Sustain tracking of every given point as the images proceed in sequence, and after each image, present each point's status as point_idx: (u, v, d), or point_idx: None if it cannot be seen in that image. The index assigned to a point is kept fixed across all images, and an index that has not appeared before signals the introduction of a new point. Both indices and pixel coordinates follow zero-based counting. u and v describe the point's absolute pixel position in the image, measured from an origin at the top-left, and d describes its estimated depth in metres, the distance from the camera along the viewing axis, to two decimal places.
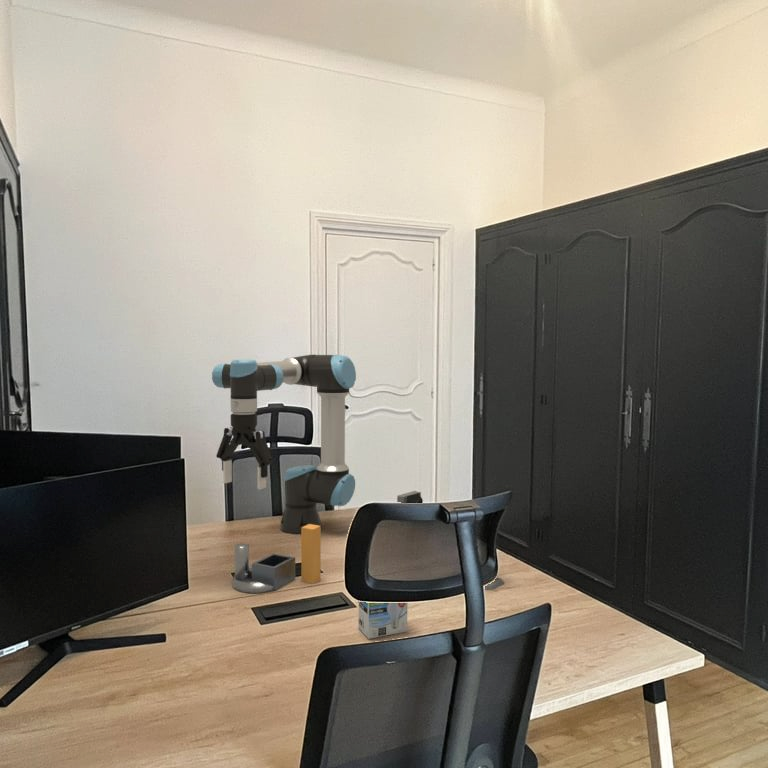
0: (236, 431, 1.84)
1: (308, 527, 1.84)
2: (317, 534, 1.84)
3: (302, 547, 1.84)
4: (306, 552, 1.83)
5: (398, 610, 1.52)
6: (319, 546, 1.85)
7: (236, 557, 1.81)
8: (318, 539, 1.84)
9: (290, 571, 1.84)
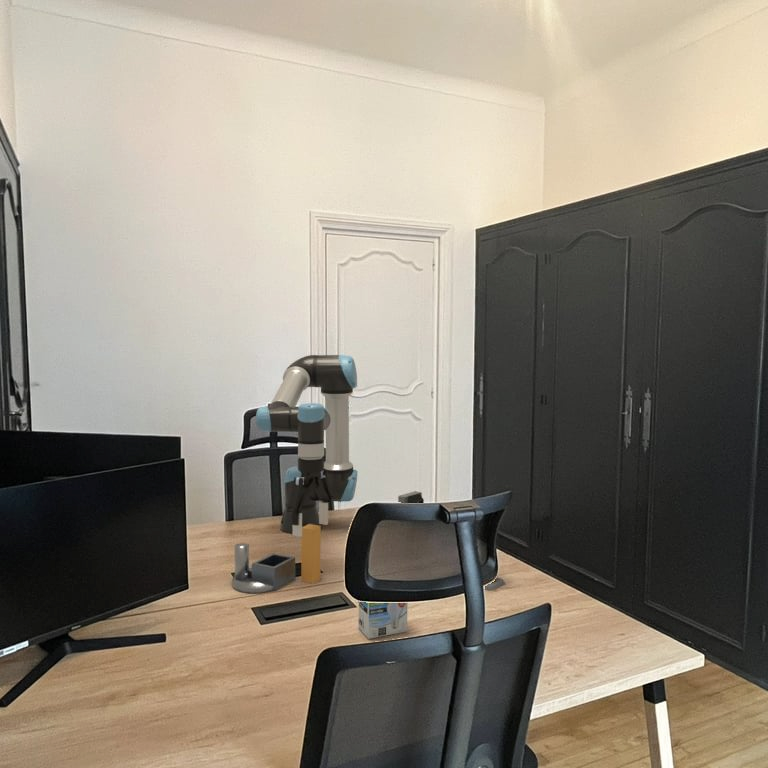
0: None
1: (308, 527, 1.84)
2: (317, 534, 1.84)
3: (302, 547, 1.84)
4: (306, 552, 1.83)
5: (398, 610, 1.52)
6: (319, 546, 1.85)
7: (236, 557, 1.81)
8: (318, 539, 1.84)
9: (290, 571, 1.84)
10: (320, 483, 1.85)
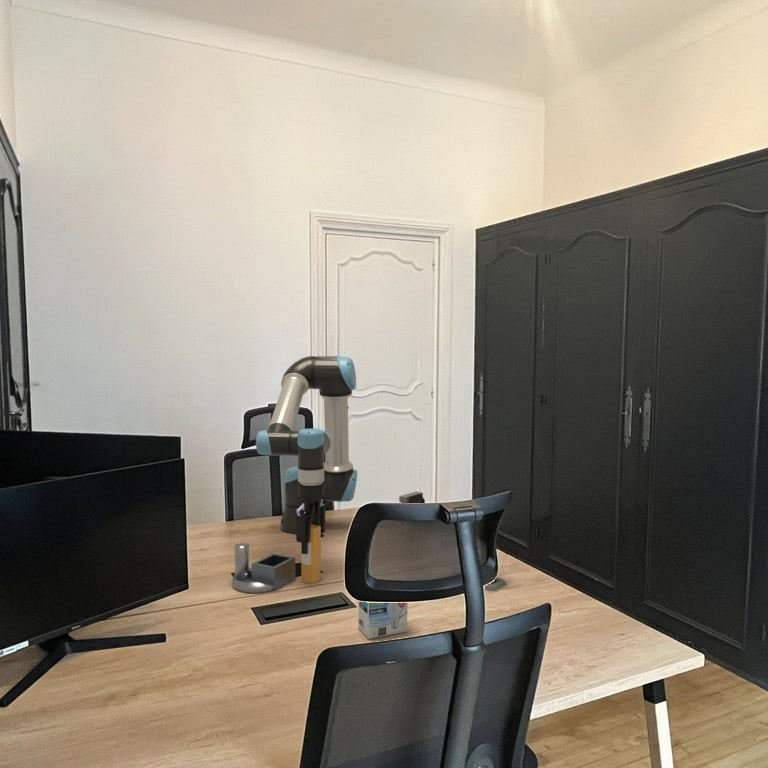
0: None
1: None
2: (317, 534, 1.84)
3: None
4: None
5: (398, 610, 1.52)
6: (319, 546, 1.85)
7: (236, 557, 1.81)
8: (318, 539, 1.84)
9: (290, 571, 1.84)
10: (318, 510, 1.85)
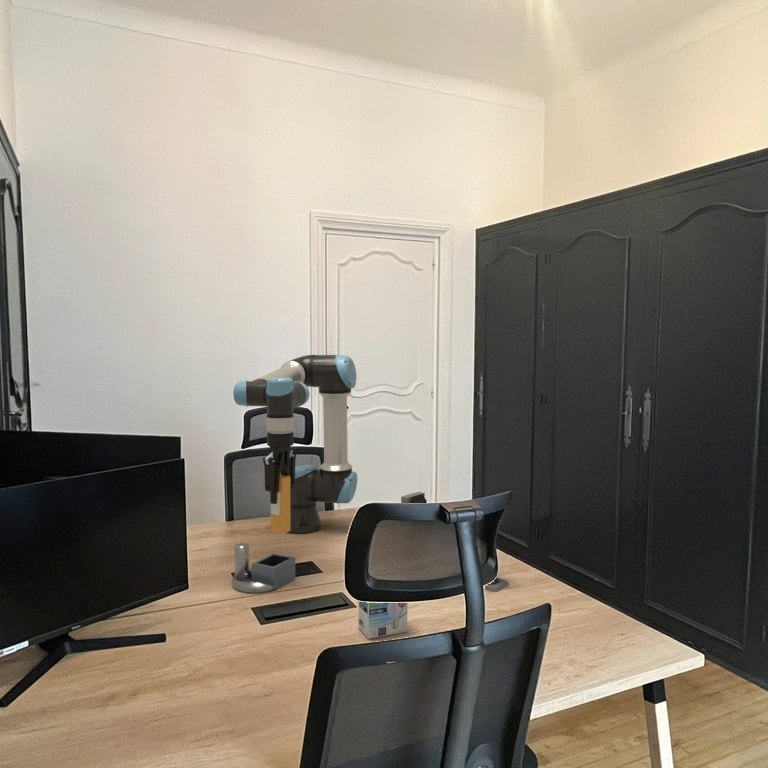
0: None
1: None
2: (287, 484, 1.81)
3: None
4: None
5: (398, 610, 1.52)
6: (289, 497, 1.82)
7: (236, 557, 1.81)
8: (287, 489, 1.82)
9: (290, 571, 1.84)
10: (288, 460, 1.82)
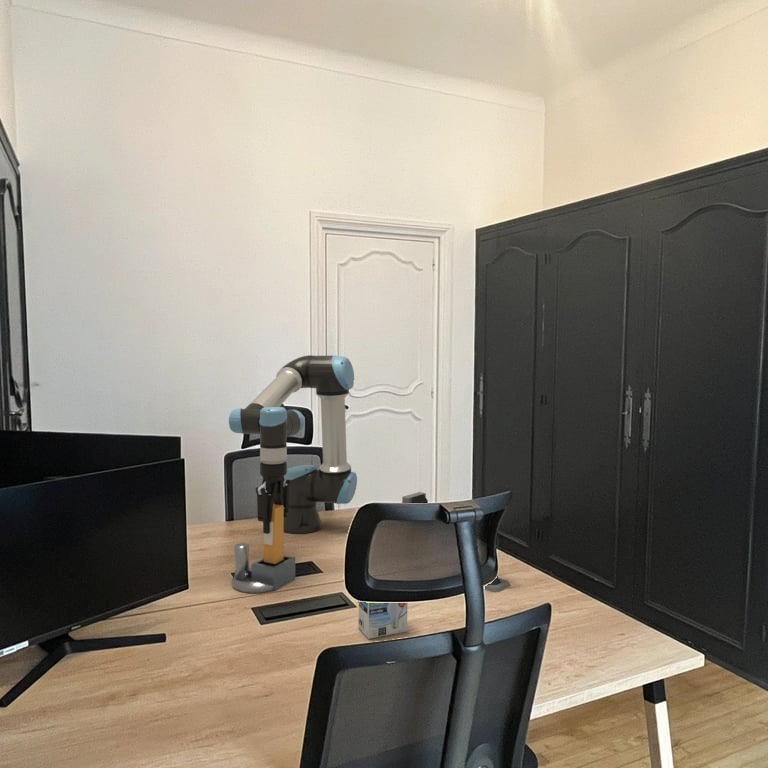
0: None
1: None
2: (280, 514, 1.82)
3: None
4: None
5: (398, 610, 1.52)
6: (282, 526, 1.83)
7: (236, 557, 1.81)
8: (280, 519, 1.82)
9: (290, 571, 1.84)
10: (281, 489, 1.82)
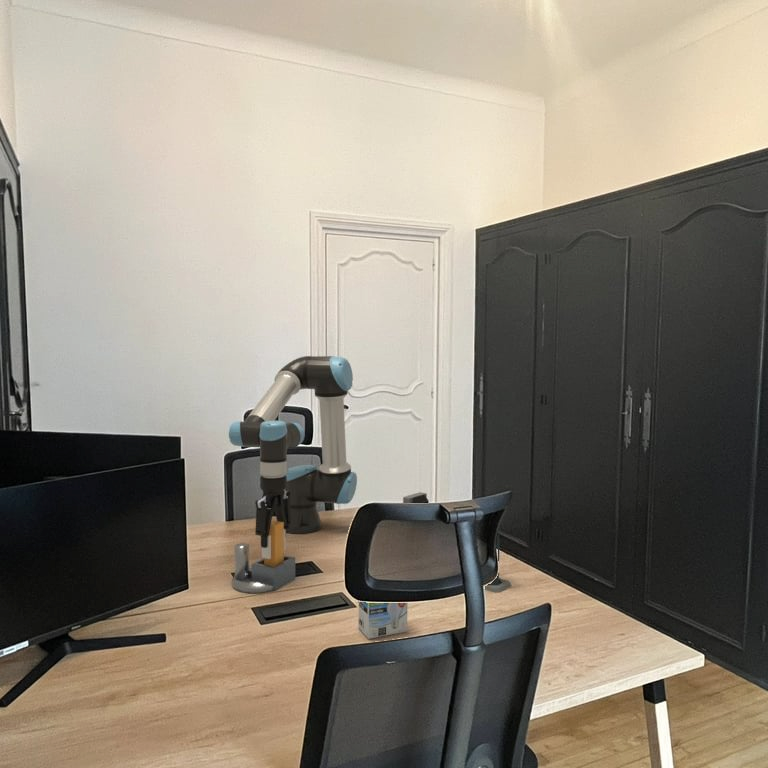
0: None
1: (271, 523, 1.82)
2: (280, 531, 1.82)
3: None
4: None
5: (398, 610, 1.52)
6: (282, 543, 1.83)
7: (236, 557, 1.81)
8: (280, 536, 1.82)
9: (290, 571, 1.84)
10: (282, 502, 1.83)
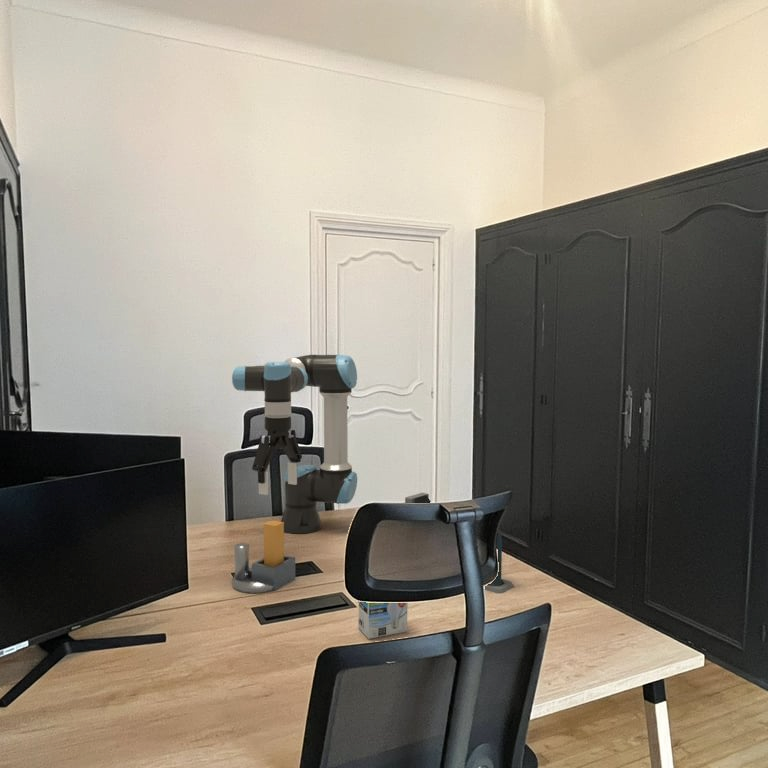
0: None
1: (271, 523, 1.82)
2: (280, 531, 1.82)
3: (265, 544, 1.82)
4: (268, 548, 1.81)
5: (398, 610, 1.52)
6: (282, 543, 1.83)
7: (236, 557, 1.81)
8: (280, 536, 1.82)
9: (290, 571, 1.84)
10: (288, 442, 1.83)
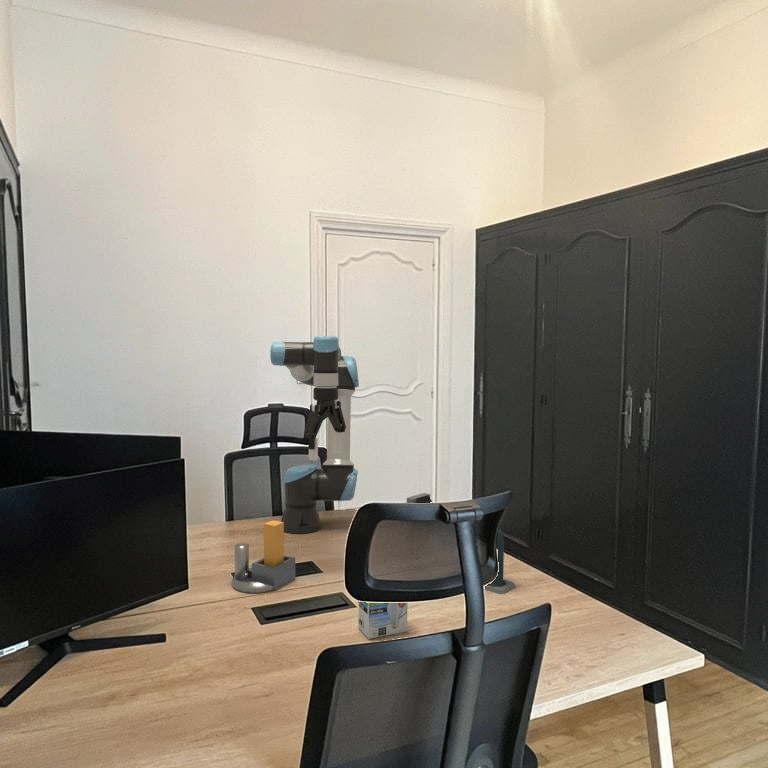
0: None
1: (271, 523, 1.82)
2: (280, 531, 1.82)
3: (265, 544, 1.82)
4: (268, 548, 1.81)
5: (398, 610, 1.52)
6: (282, 543, 1.83)
7: (236, 557, 1.81)
8: (280, 536, 1.82)
9: (290, 571, 1.84)
10: (334, 412, 1.94)
